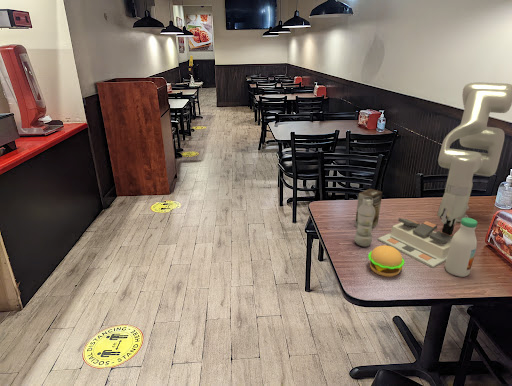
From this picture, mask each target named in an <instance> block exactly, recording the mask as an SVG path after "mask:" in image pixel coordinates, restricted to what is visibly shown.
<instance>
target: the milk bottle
mask: <svg viewBox="0 0 512 386" xmlns="http://www.w3.org/2000/svg"><path fill="white" fill-rule="evenodd" d="M477 227H478V220H476V219H474V218H471V217H468V218H462V220H461V222H460V227H459V229H458V230H456V232H455V233H453V234H454V236H453V237H452V240H451V243H450V247H449V251H448V255H447V259H446V261H445V262H444V263H445V264H444V269H445V270H446V272H447V273H449V274H450V275H452V276H456V277H459V278H460V277H463V278H465V277H467V276H469V275H470V272H471V270H472V267H473V262H474V258H475V255H476V251H477V246H478V240H477V236H476V231H475V230H476V229H477Z"/></svg>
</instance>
